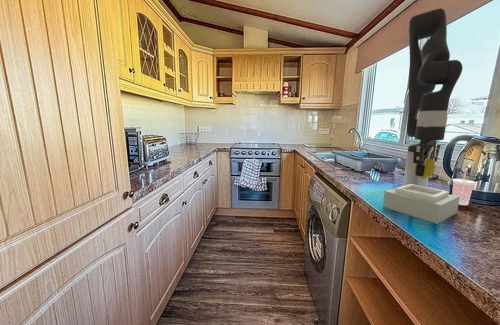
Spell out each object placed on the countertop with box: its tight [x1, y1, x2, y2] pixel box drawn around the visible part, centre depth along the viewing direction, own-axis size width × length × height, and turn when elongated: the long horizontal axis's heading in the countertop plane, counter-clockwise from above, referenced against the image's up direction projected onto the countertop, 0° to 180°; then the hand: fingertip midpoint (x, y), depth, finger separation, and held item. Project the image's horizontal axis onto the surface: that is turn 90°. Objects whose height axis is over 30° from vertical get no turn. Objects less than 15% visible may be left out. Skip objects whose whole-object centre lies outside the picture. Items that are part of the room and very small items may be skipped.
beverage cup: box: [451, 167, 476, 206], centre depth 81 cm, size 6×6×14 cm
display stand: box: [382, 184, 460, 225], centre depth 75 cm, size 16×16×7 cm
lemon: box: [414, 158, 436, 179], centre depth 73 cm, size 6×6×8 cm
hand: (423, 174), depth 74 cm, fingers closed on lemon, 5 cm apart
